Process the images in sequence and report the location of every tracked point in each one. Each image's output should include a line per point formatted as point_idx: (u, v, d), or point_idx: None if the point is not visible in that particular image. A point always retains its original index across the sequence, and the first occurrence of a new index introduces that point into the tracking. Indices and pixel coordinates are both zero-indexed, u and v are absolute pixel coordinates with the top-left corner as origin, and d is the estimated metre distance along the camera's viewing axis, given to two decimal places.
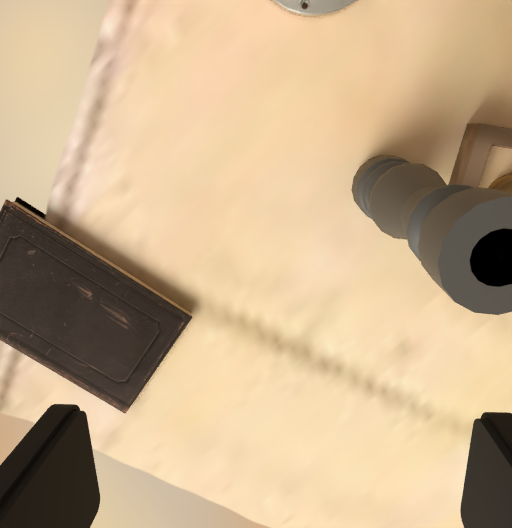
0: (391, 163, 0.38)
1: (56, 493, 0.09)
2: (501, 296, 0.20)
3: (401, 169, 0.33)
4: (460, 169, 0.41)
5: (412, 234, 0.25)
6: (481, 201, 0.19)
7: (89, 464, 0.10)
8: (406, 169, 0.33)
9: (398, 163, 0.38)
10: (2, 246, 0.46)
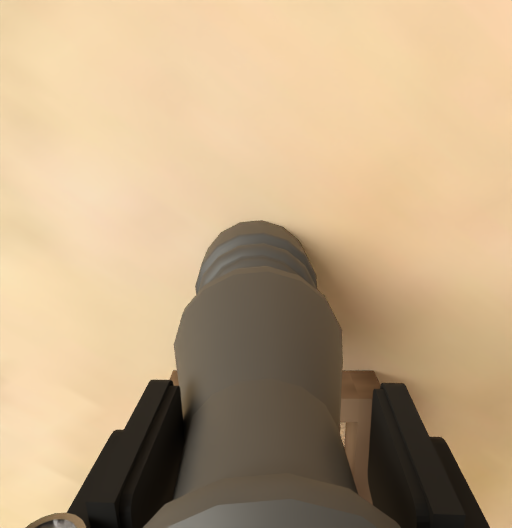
0: (312, 284, 0.20)
1: (166, 457, 0.10)
2: None
3: (331, 322, 0.14)
4: None
5: None
6: None
7: (181, 435, 0.11)
8: (335, 333, 0.14)
9: None
10: None
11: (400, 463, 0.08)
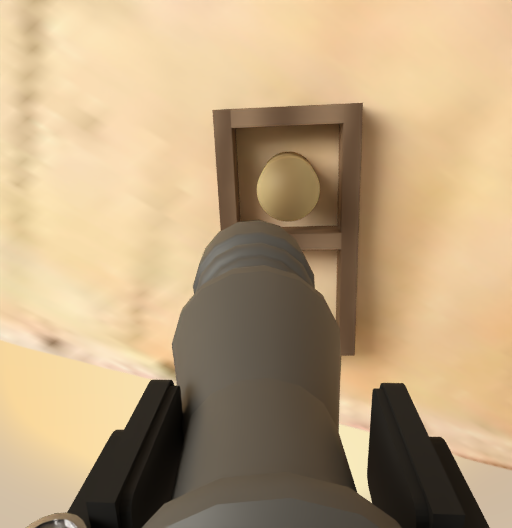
0: (310, 283, 0.20)
1: (166, 457, 0.10)
2: None
3: (330, 321, 0.14)
4: None
5: None
6: None
7: (182, 435, 0.11)
8: (333, 332, 0.14)
9: None
10: None
11: (400, 463, 0.08)
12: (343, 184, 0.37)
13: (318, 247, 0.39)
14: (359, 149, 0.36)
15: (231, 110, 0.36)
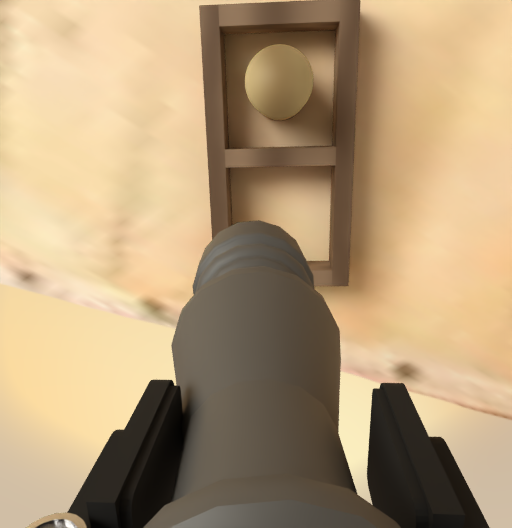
0: (309, 284, 0.20)
1: (166, 458, 0.10)
2: None
3: (329, 322, 0.14)
4: None
5: None
6: None
7: (182, 435, 0.11)
8: (333, 333, 0.14)
9: None
10: None
11: (400, 463, 0.08)
12: (338, 91, 0.35)
13: (311, 163, 0.36)
14: (356, 51, 0.34)
15: (219, 6, 0.33)
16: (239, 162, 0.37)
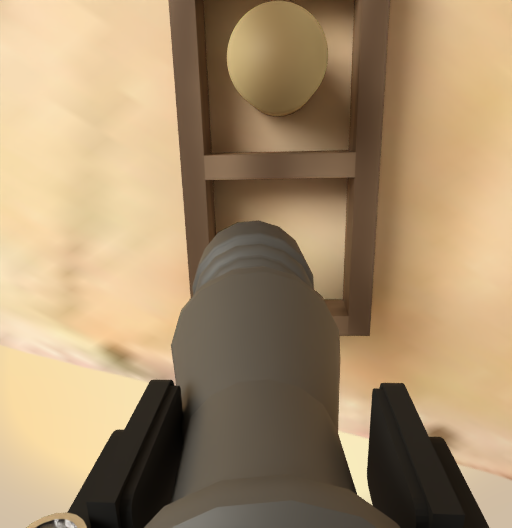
0: (309, 284, 0.20)
1: (166, 457, 0.10)
2: None
3: (329, 322, 0.14)
4: None
5: None
6: None
7: None
8: (332, 333, 0.14)
9: None
10: None
11: (399, 463, 0.08)
12: (360, 75, 0.25)
13: (321, 174, 0.27)
14: (386, 18, 0.24)
15: None
16: (223, 172, 0.27)
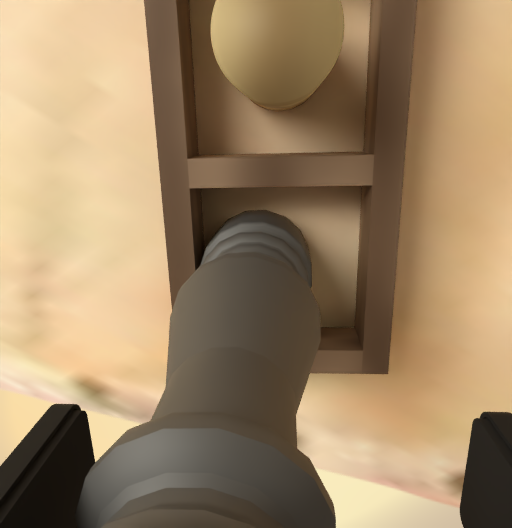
0: (304, 271, 0.21)
1: (57, 492, 0.09)
2: None
3: (309, 305, 0.16)
4: None
5: (159, 450, 0.08)
6: None
7: (90, 464, 0.10)
8: (311, 315, 0.16)
9: None
10: None
11: None
12: (381, 58, 0.20)
13: (331, 181, 0.22)
14: None
15: None
16: (211, 179, 0.22)
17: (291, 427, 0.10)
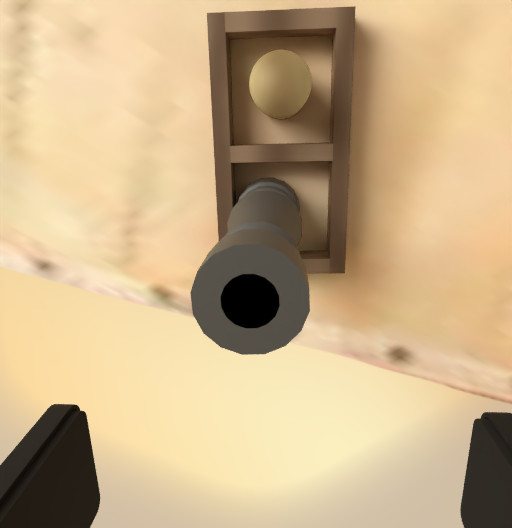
0: None
1: (56, 493, 0.09)
2: (212, 311, 0.20)
3: (295, 214, 0.33)
4: None
5: (246, 227, 0.25)
6: (300, 270, 0.20)
7: (89, 464, 0.10)
8: (296, 218, 0.33)
9: None
10: None
11: None
12: (335, 92, 0.37)
13: (310, 158, 0.39)
14: (351, 55, 0.37)
15: (225, 13, 0.36)
16: (243, 157, 0.40)
17: None
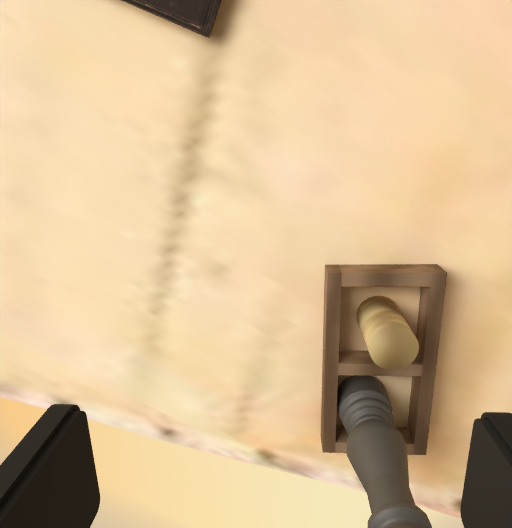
0: (392, 415, 0.48)
1: (56, 493, 0.09)
2: None
3: (404, 446, 0.43)
4: (402, 269, 0.46)
5: (394, 512, 0.35)
6: None
7: (89, 464, 0.10)
8: (405, 450, 0.43)
9: (392, 420, 0.48)
10: None
11: None
12: (427, 329, 0.47)
13: (403, 374, 0.49)
14: (441, 305, 0.46)
15: (342, 274, 0.46)
16: (348, 371, 0.49)
17: (413, 501, 0.37)
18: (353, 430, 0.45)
